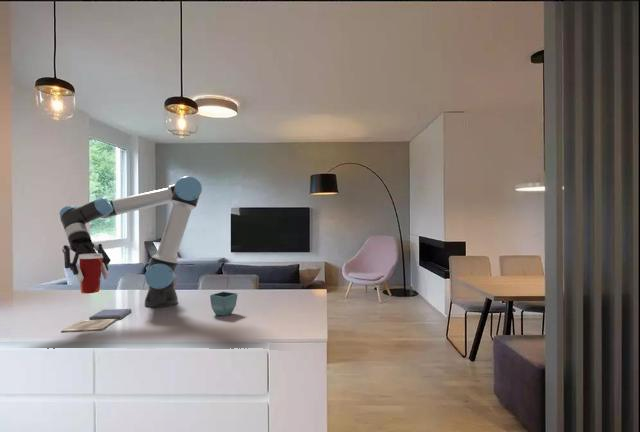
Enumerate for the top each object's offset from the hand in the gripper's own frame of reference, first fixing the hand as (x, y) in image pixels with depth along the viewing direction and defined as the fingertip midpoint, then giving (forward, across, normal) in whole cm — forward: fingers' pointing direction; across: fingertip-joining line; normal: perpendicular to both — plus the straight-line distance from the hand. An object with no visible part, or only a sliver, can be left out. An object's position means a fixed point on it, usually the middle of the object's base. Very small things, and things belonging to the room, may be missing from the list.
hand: (94, 278), depth 133 cm
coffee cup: (+2, 0, -6) cm, 7 cm away
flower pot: (+32, -42, +5) cm, 53 cm away
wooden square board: (+11, 0, -16) cm, 19 cm away
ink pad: (+5, -11, -21) cm, 25 cm away
